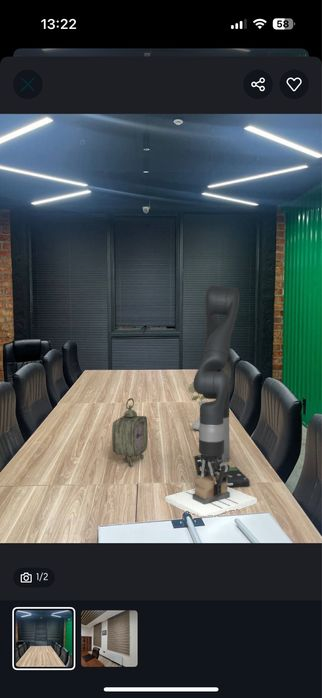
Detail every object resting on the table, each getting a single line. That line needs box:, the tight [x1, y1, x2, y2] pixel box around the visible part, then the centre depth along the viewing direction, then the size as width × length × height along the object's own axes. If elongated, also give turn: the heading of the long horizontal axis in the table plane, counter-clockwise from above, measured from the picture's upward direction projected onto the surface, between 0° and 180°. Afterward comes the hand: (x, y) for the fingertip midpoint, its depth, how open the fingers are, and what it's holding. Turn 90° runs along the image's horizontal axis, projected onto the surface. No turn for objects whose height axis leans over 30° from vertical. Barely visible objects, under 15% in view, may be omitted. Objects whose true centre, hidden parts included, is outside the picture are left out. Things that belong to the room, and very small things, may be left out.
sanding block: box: [193, 475, 230, 505], centre depth 151 cm, size 10×6×6 cm, turn 125°
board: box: [164, 487, 258, 516], centre depth 152 cm, size 18×21×2 cm
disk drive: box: [209, 466, 251, 489], centre depth 172 cm, size 10×3×15 cm
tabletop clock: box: [111, 397, 149, 468], centre depth 193 cm, size 14×9×25 cm, turn 160°
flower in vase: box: [187, 381, 208, 431], centre depth 247 cm, size 13×11×25 cm
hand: (211, 493), depth 151 cm, fingers closed on sanding block, 4 cm apart
